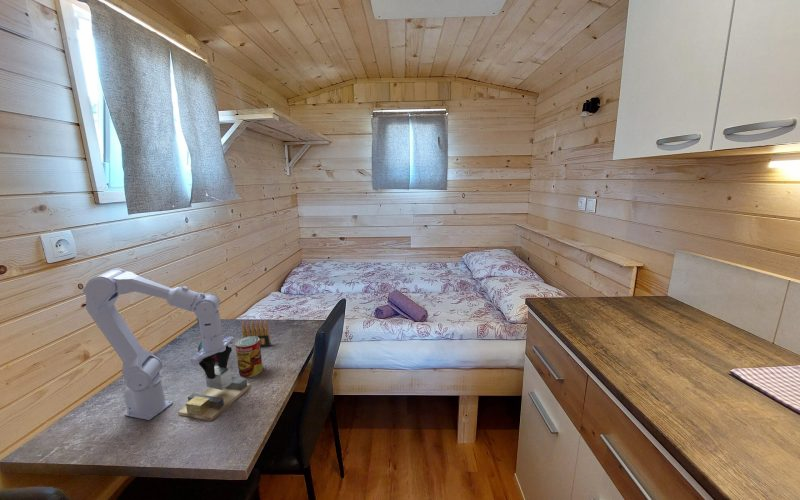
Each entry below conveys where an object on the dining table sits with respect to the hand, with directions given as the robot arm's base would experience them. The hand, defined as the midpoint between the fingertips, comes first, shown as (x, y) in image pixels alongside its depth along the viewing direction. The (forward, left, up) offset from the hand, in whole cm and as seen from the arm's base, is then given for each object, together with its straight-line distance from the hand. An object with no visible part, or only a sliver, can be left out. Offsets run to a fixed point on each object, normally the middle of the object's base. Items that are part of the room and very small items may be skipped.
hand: (217, 374), depth 106 cm
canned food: (0, +15, -9) cm, 18 cm away
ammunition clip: (-10, +32, -9) cm, 35 cm away
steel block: (0, 0, -4) cm, 4 cm away
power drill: (-20, +18, -9) cm, 29 cm away
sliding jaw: (0, -7, -7) cm, 10 cm away
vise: (0, -1, -8) cm, 8 cm away
